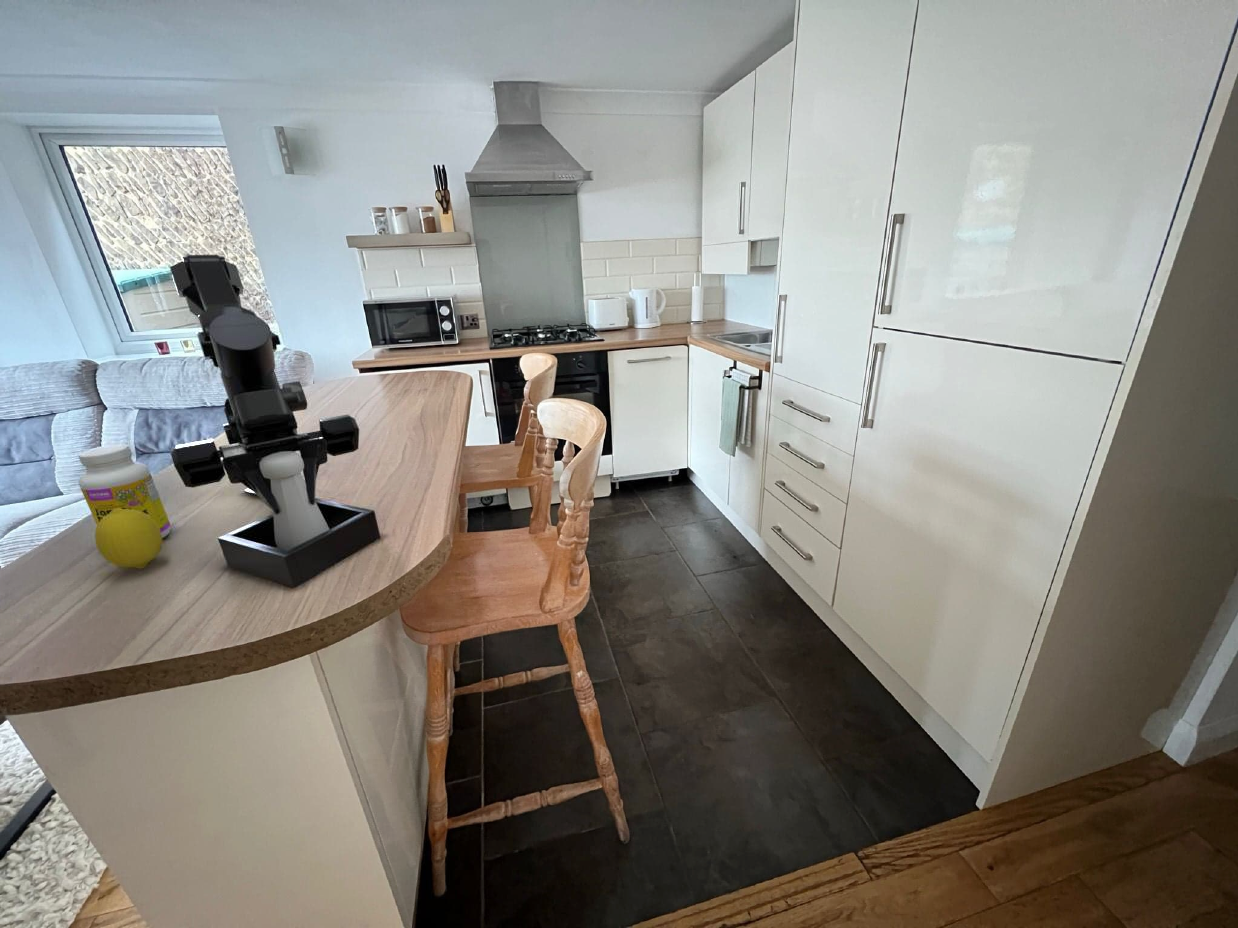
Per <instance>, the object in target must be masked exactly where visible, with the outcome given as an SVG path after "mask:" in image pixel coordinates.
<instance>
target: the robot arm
mask: <svg viewBox="0 0 1238 928" xmlns="http://www.w3.org/2000/svg"><path fill="white" fill-rule="evenodd" d="M181 259H182V261H180V262H177V263H175V264H173V265H170V266H169V269H170V273H171V276H172V279H173V282H174V285H175V288H176V291H177V294H178V297H179V298H185V301H186V304H187V307H188V309H189V312H190V313H191V314H193V315H194V316H196V317H197V319H198V320H199V324H200V328H201V330H202V331H196V336H197V340H198V342H199V345H200V349H201V351H202V354H203V358H204V360H205V361H210V360H211V361H212V363H213V366H214V367H215V368H219V370H220V378H221V381H222V384H223V387H224V390H225V393H226V397H227V398H225V402H224V408H223V410H224V411H223V412H224V414H225V417H226V421H227V423H225V424H222V427H223V429H224V434H225V436H226V439H227V443H228V444H226V445H220V446H218V449H217V445H216V444H215V441H214V439H213V438H210V439H205V440H200V441H194V442H188V443H182V444H178V445H175V446H174V448H173V449H171V452H170V456H171V460H172V463H173V466H174V468H175V470H176V472H177V474H178V476H179V477H180V479H181V481H182V483H183V485H184V487H186V488H193V489H194V488H198V487H202V486H205V485H211V484H215V483H219V482H221V481H222V479H224V477H225V476H227V477H228V480H229V482H230V484H232V485H236V484H242V485H243V486H245V487H246V488H245V489H244V494H245V495H246V494H247V495H251V496H256V497H258V498H259V499H261V500H262V501H263V503H265V505H266V506H267V507H268V508H269V509H270V510H271V511H272V513H273V512H274V513H275V514H276V515H277V514H279V513H280V512H279V508H278V505H277V502H276V499H275V497H274V495H273V494H272V491H271V480H270V479H269V478H265V477H264V476H263V474H262V472H261V470H260V464H259V463H260V461H261V460H262V459H263V458H264V457H266V456H268V455H271V454H274V453H277V452H284V451H292V452H296V453H297V452H299V455H300V456H301V458H302V460H303V463H304V469H303V470H302V473H303V479H304V481H305V483H306V489H307V493H308V496H309V499H310V503H311V504H312V505H314V504H315V498H316V484H317V477H318V473H319V469H320V465H324V464H326V463H327V462H328V459H329V458H328V455H330V456H332V457H336V456H342V455H345V454H349V453H354V452H357V450H359V442H360V427H359V425H358V423H357V420H356V419H355V418H354V417H352V416H351V415H350V414H343V415H337V416H332V417H326V418H321V419H318V421H319V430H315V431H310V432H304V433H303V432H302V433H298V430H297V429H298V428H299V427H298V422H297V419H296V417H295V414H294V412H301V411H305V410H307V409H308V401H307V397H306V395H305V392H304V389H303V386H302V384H301V381H300V380H299V381H298V380H297V381H290V382H284V383H282V388H281V386H280V383H279V381H278V378H277V374H276V372H275V368H276V360H275V353H276V351H277V350H278V347H277V346H280V345H281V339H280V337H279V335H278V334H276V333H274V332H273V331H272V330H271V328H270V325H269V324H268V323H267V322H266V321H265V320H264V319H262V318H260V317H258V316H257V314H256V313H255V312H254V311H252V310H250V309H247V308H244V307H242V302H241V296H240V295H243V294H244V285H243V282H242V280H241V275H240V273H239V270H238V267H237V265H236V264H235V263H231V262H228V261H226V258H225V256H224V255H223V256H222V255H221V256H220V255H219V254H187V255H186V256H182V257H181Z"/></svg>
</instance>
